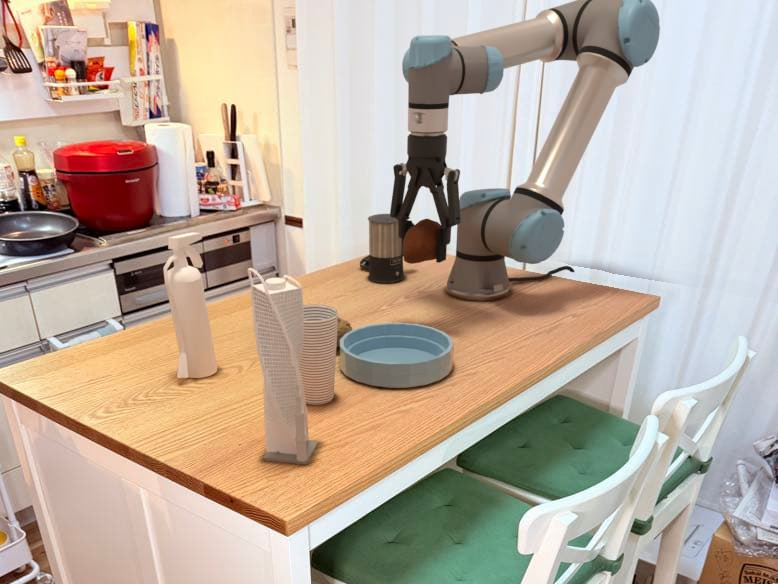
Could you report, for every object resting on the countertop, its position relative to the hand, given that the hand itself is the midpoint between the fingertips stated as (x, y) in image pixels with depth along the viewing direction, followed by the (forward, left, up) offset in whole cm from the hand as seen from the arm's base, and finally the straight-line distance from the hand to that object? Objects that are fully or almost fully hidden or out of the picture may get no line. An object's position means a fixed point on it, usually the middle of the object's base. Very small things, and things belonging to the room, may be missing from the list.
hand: (423, 257), depth 158 cm
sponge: (+21, -15, -15) cm, 30 cm away
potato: (0, 0, -1) cm, 1 cm away
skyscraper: (+59, +11, -15) cm, 62 cm away
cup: (+41, +3, -15) cm, 44 cm away
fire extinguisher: (+45, -23, -15) cm, 53 cm away
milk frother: (-29, -30, -15) cm, 45 cm away
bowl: (+21, +7, -15) cm, 26 cm away
